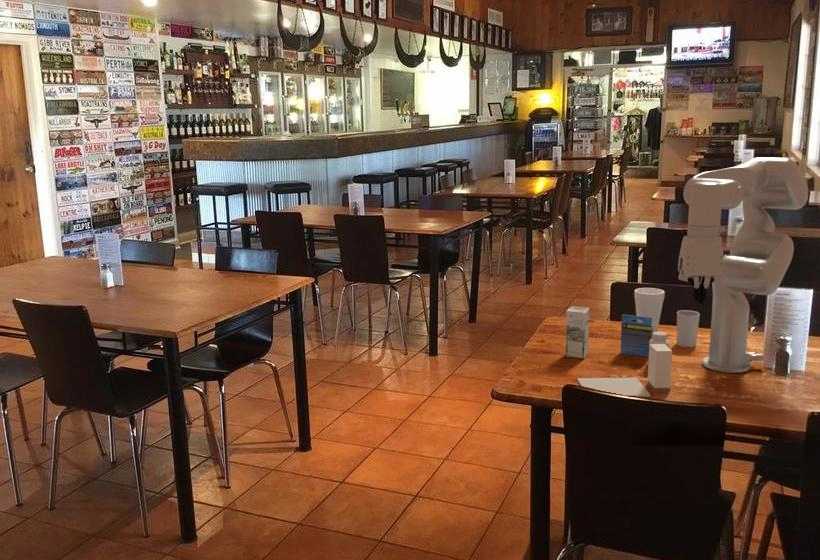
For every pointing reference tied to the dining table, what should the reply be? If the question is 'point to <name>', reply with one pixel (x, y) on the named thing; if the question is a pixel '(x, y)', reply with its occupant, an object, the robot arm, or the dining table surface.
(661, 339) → the pill bottle
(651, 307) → the foam cup
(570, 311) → the syrup box
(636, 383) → the felt mat
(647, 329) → the label tape box
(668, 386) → the tall block
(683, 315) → the drinking glass
